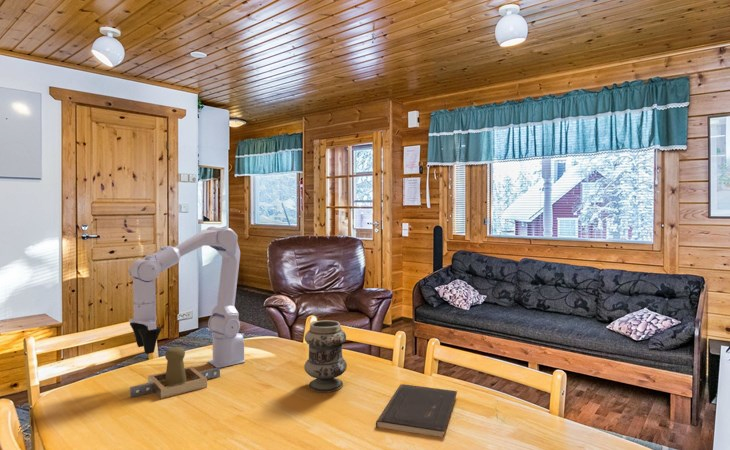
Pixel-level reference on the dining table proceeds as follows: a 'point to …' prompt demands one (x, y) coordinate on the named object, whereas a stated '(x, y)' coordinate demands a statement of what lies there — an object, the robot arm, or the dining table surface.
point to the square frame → (163, 392)
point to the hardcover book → (418, 410)
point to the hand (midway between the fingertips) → (145, 349)
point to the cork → (175, 366)
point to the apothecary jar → (325, 355)
